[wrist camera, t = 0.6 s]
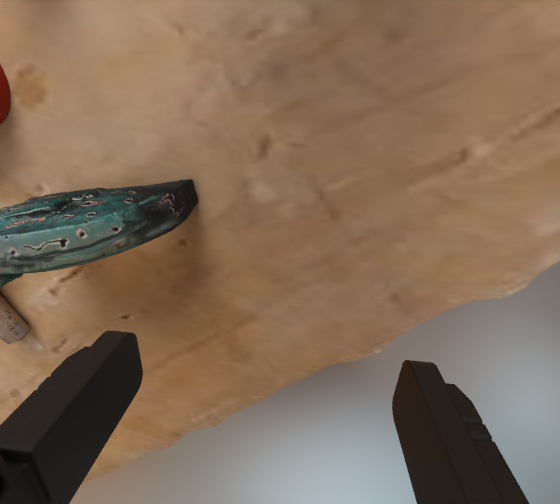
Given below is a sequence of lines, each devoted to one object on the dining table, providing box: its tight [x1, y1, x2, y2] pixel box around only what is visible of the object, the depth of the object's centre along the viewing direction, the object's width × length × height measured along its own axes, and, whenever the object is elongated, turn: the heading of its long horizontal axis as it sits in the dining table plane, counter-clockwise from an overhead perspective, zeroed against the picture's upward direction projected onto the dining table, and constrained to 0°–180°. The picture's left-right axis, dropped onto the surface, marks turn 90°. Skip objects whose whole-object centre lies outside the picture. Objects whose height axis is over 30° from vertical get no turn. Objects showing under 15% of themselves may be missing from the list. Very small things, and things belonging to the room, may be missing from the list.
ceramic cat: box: [0, 179, 198, 287], centre depth 28 cm, size 20×6×20 cm, turn 102°
